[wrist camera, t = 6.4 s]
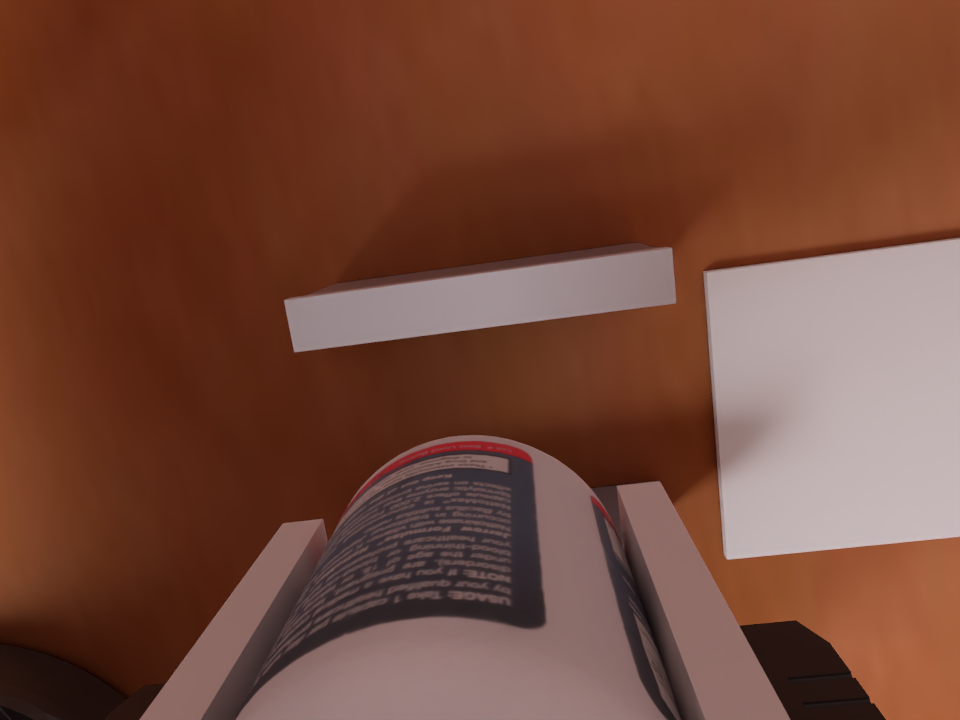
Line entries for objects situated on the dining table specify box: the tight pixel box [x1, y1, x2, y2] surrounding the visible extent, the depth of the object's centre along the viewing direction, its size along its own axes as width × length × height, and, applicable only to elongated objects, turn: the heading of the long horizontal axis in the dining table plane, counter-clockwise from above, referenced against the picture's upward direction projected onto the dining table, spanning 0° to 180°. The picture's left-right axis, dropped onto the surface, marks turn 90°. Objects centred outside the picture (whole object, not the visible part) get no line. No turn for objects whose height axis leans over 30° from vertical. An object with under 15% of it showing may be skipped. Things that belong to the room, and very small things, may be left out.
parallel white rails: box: [284, 242, 676, 546], centre depth 21 cm, size 10×10×5 cm
